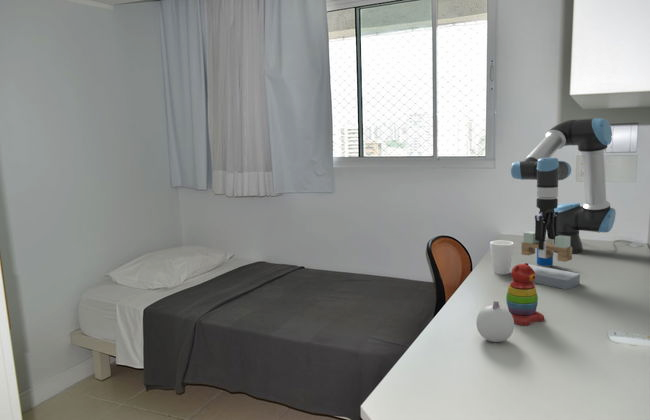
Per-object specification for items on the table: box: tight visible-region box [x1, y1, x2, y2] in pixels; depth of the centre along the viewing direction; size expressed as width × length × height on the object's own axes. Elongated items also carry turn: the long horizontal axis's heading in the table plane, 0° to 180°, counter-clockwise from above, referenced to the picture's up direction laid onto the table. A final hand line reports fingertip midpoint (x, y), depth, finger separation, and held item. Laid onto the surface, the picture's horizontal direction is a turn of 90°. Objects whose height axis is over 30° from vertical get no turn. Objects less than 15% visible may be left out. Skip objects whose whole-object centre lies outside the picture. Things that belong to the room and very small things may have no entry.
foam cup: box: [489, 239, 515, 276], centre depth 211 cm, size 10×9×13 cm
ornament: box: [475, 300, 515, 343], centre depth 143 cm, size 10×10×12 cm
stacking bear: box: [505, 262, 546, 326], centre depth 158 cm, size 11×10×18 cm
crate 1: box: [522, 230, 538, 244], centre depth 200 cm, size 4×4×4 cm
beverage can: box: [536, 237, 554, 268], centre depth 219 cm, size 6×6×12 cm
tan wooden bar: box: [520, 241, 573, 263], centre depth 196 cm, size 5×18×5 cm, turn 37°
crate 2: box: [555, 235, 571, 248], centre depth 190 cm, size 4×4×4 cm
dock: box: [528, 263, 581, 290], centre depth 197 cm, size 10×22×4 cm, turn 37°
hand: (545, 256), depth 196 cm, fingers closed on tan wooden bar, 5 cm apart
